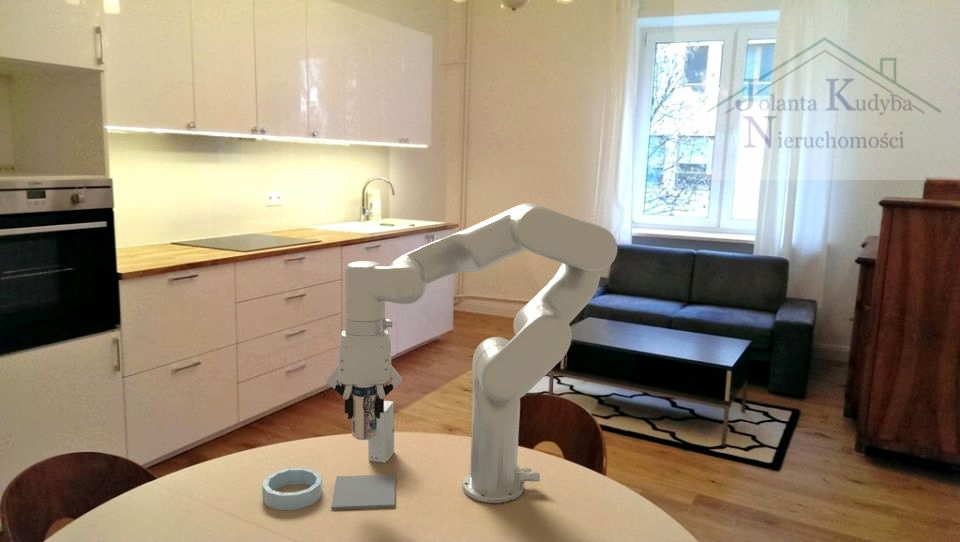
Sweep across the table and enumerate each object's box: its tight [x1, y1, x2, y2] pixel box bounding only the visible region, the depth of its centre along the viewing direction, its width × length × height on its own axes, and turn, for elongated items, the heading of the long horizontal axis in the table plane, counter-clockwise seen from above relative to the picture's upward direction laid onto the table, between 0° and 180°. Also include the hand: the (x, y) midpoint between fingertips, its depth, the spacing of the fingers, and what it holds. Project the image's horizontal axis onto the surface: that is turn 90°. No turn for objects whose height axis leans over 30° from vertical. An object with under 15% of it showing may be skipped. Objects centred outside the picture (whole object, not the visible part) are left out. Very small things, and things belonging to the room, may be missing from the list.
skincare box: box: [367, 400, 395, 464], centre depth 147 cm, size 6×4×12 cm
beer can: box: [351, 384, 378, 441], centre depth 129 cm, size 5×5×12 cm
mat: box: [330, 474, 396, 511], centre depth 132 cm, size 12×12×1 cm
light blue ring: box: [261, 467, 323, 511], centre depth 130 cm, size 11×11×3 cm
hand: (364, 415), depth 130 cm, fingers closed on beer can, 4 cm apart
